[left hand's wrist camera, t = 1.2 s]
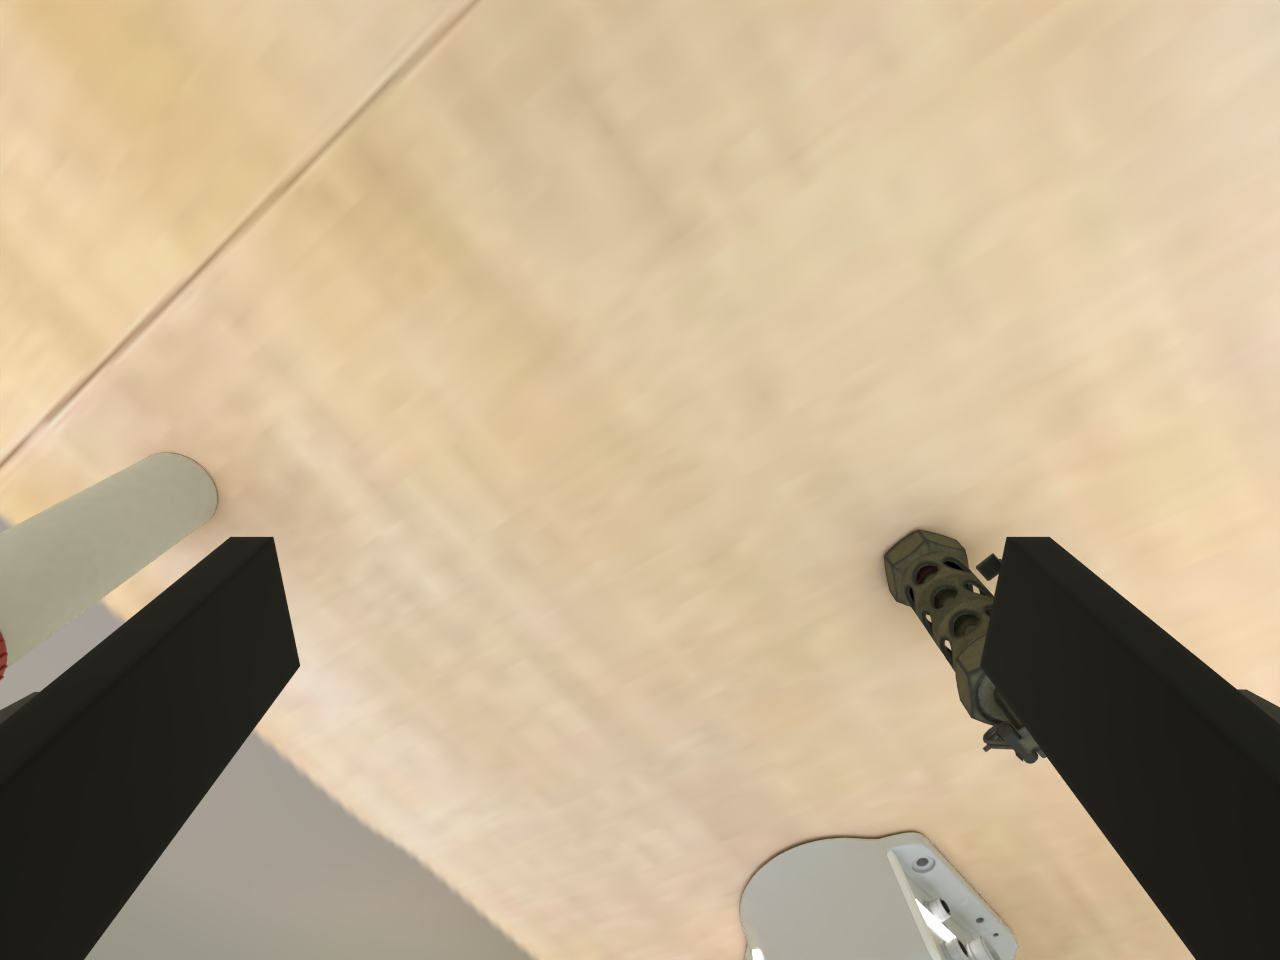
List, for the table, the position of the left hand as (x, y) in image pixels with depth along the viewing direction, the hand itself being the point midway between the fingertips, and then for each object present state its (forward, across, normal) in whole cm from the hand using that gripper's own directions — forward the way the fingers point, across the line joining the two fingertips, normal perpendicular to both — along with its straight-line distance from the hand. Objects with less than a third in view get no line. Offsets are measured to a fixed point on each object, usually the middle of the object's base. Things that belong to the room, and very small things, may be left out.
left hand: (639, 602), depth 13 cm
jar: (+28, -28, -9) cm, 40 cm away
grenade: (+28, +19, -14) cm, 36 cm away
